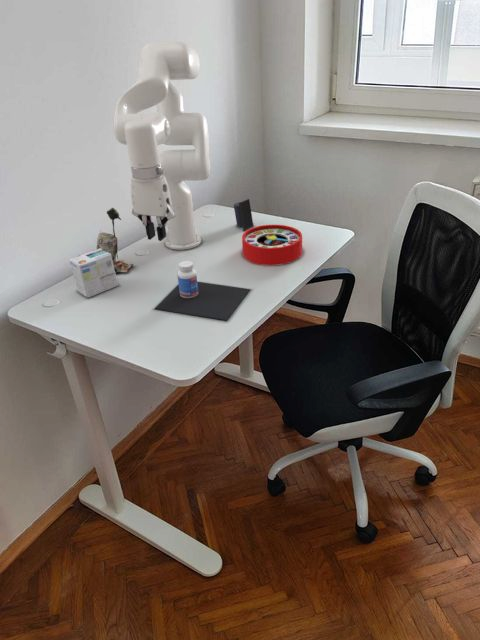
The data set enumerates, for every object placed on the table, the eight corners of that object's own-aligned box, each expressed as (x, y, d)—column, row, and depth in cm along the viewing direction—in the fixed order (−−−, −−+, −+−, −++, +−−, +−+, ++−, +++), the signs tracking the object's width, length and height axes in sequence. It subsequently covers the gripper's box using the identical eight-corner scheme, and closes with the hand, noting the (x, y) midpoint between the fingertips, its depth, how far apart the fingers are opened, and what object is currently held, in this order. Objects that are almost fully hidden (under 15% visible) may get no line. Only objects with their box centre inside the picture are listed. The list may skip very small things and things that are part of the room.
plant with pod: (108, 262, 174) (94, 203, 162) (137, 266, 170) (126, 206, 159) (93, 272, 167) (79, 212, 156) (123, 277, 164) (111, 216, 153)
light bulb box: (107, 279, 163) (100, 247, 157) (119, 286, 159) (112, 253, 153) (76, 291, 157) (67, 258, 151) (87, 298, 153) (79, 265, 147)
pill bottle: (195, 299, 150) (191, 269, 144) (177, 298, 151) (173, 267, 145) (200, 290, 154) (197, 260, 149) (183, 289, 155) (179, 259, 150)
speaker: (257, 227, 194) (253, 199, 188) (243, 231, 191) (239, 203, 186) (247, 222, 199) (243, 195, 194) (234, 226, 197) (230, 199, 192)
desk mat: (154, 309, 147) (154, 308, 147) (183, 280, 161) (183, 279, 161) (226, 321, 141) (226, 319, 141) (249, 290, 154) (249, 289, 154)
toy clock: (256, 221, 183) (310, 228, 176) (257, 237, 187) (310, 244, 180) (231, 243, 168) (289, 252, 162) (232, 260, 172) (289, 269, 165)
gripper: (181, 169, 135) (189, 236, 146) (127, 165, 140) (138, 230, 151) (167, 178, 130) (176, 247, 140) (111, 173, 134) (124, 240, 145)
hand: (156, 237), depth 145 cm, fingers closed
